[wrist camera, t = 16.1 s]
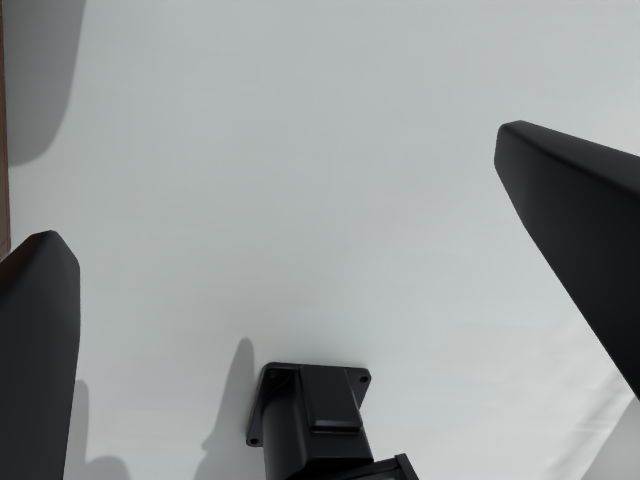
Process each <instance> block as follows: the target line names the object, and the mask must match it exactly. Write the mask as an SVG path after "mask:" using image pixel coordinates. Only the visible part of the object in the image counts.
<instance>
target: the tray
mask: <svg viewBox="0 0 640 480" xmlns="http://www.w3.org/2000/svg"><path fill="white" fill-rule="evenodd" d="M10 248H11V244H10V217H9V189H8V162H7V135H6V108H5V81H4V54H3V27H2V0H0V260H1V259H2V257H3V256H4V255H5V254H6V252H7V251H9V249H10Z"/></svg>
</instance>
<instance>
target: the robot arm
mask: <svg viewBox="0 0 640 480" xmlns="http://www.w3.org/2000/svg"><path fill="white" fill-rule="evenodd" d="M494 165H495V169H496V171H497V173H498V175H499V177H500V179H501V181H502V183H503V185H504V187H505V189H506V191H507V193H508V195H509V197H510V199H511V201H512V204H513V206H514V208H515V210H516V212H517V214H518V216H519V218H520V219H521V221H522V223H523V225H524V227H525V228H526V230H527V232H528V233H529V235H530V236H531V238H532V239H533V241H534V242H535V244H536V245H537V247H538V248H539V250H540V251H541V253H542V254H543V256H544V257H545V259H546V261H547V262H548V264H549V265H550V267H551V268H552V270H553V271H554V273H555V274H556V276H557V277H558V279H559V280H560V282H561V283H562V285H563V286H564V288H565V289H566V291H567V292H568V294H569V295H570V297H571V298H572V300H573V301H574V303H575V304H576V306H577V307H578V309H579V310H580V312H581V313H582V315H583V316H584V318H585V319H586V321H587V323H588V324H589V326H590V327H591V329H592V330H593V332H594V333H595V335H596V336H597V338H598V339H599V341H600V342H601V344H602V345H603V347H604V348H605V350H606V351H607V353H608V354H609V356H610V357H611V359H612V360H613V362H614V363H615V365H616V366H617V368H618V369H619V371H620V372H621V374H622V375H623V377H624V378H625V380H626V381H627V383H628V385H629V386H630V388H631V389H632V391H633V392H634V394H635V395H636V397H637V398H638V400H639V401H640V157H639V156H636V155H633V154H629V153H626V152H623V151H620V150H616V149H613V148H610V147H607V146H603V145H600V144H597V143H594V142H591V141H587V140H584V139H581V138H578V137H574V136H571V135H568V134H565V133H561V132H558V131H555V130H552V129H548V128H545V127H542V126H539V125H535V124H532V123H529V122H526V121H522V120H518V121H514V122H510V123H506V124H503V125H501V126H500V128H499V130H498V134H497V141H496V148H495V155H494ZM79 342H80V266H79V263H78V260H77V258H76V257H75V255H74V254H73V253H72V251H71V250H70V248H69V247H68V246H67V244H66V243H65V242H64V240H63V239H62V237H61V236H60V235H59V234H58V233H57V232H56V231H53V230H49V231H44V232H40V233H36V234H32V235H30V236H29V237H28V238H27V239H26V240H25V241H24V242H23V243H22V244H20V245H19V246H18V247H17V248H16V249H15V250H14V251H13V252H12V253H11V254H10V255H8V256H7V257H6V258H5V259H4V260H3V261H2V262H1V263H0V480H63V474H64V466H65V458H66V450H67V442H68V433H69V425H70V417H71V409H72V401H73V393H74V384H75V376H76V368H77V360H78V352H79ZM273 370H274V372H270V371H273ZM362 376H364V377H363V378H361V377H362ZM370 381H371V375H370V372H369V370H367V369H365V368H352V367H337V366H322V365H308V364H293V363H278V362H270V363H268V364H266V365H265V366H264V368H263V372H262V376H261V379H260V383H259V387H258V391H257V395H256V399H255V402H254V406H253V410H252V414H251V418H250V422H249V425H248V429H247V433H246V444H247V445H248V446H251V447H263V449H264V460H265V472H266V480H419V479H418V477H417V475H416V473H415V471H414V469H413V467H412V465H411V463H410V462H409V460H408V458H407V456H406V454H405V453H403V454H399V455H395V457H394V458H390V459H386V460H382V461H377V462H374V459H373V455H372V452H371V449H370V446H369V443H368V440H367V436H366V433H365V430H364V427H363V421H362V418H361V415H360V412H359V409H360V407H361V404H362V402H363V399H364V397H365V394H366V392H367V389H368V387H369V384H370ZM253 438H254V439H253Z"/></svg>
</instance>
